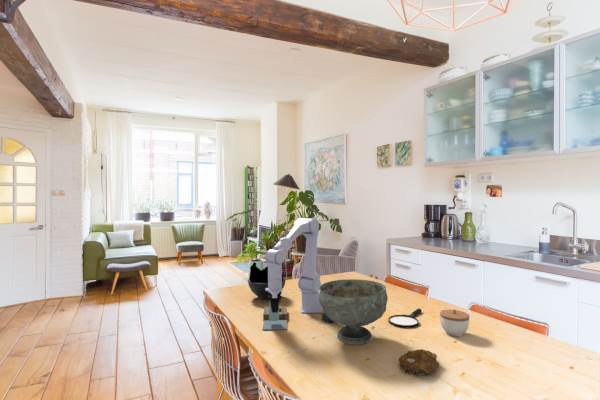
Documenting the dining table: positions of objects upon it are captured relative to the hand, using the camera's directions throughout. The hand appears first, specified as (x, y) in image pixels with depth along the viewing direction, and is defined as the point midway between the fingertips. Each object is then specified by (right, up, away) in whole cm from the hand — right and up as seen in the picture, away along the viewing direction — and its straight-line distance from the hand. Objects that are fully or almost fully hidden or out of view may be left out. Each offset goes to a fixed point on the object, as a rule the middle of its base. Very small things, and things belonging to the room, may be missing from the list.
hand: (275, 310), depth 148 cm
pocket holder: (-1, -6, +12) cm, 14 cm away
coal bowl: (-7, -6, +40) cm, 41 cm away
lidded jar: (+72, -7, -9) cm, 72 cm away
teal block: (0, -4, 0) cm, 4 cm away
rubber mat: (0, -6, 0) cm, 6 cm away
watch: (+24, -7, +6) cm, 25 cm away
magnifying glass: (+59, -7, +8) cm, 59 cm away
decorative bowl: (+31, -7, -13) cm, 34 cm away
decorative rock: (+49, -7, -35) cm, 61 cm away
